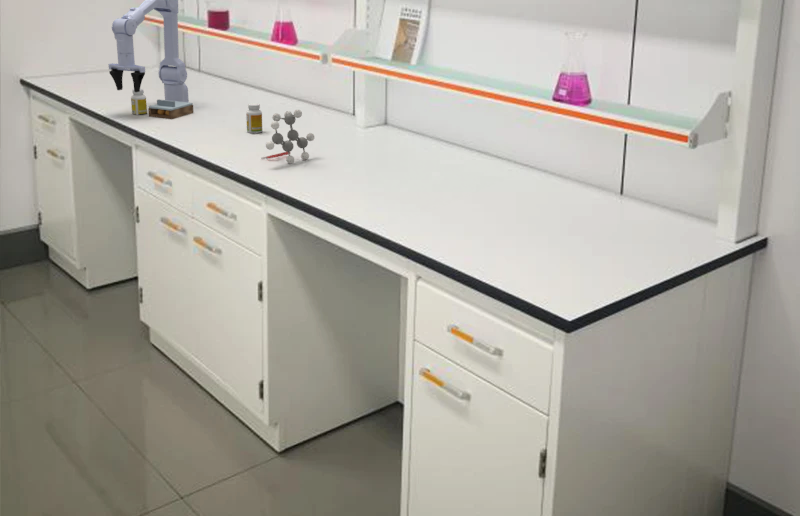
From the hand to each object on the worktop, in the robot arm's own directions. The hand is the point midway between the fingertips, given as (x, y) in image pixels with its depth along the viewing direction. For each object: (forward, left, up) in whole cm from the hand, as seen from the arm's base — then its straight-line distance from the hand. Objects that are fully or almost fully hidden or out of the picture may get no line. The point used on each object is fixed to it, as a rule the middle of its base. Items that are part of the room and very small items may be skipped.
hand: (128, 90), depth 327 cm
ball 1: (-6, +9, -9) cm, 14 cm away
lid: (-10, +11, -6) cm, 16 cm away
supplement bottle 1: (-6, 0, -10) cm, 12 cm away
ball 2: (-6, +13, -9) cm, 17 cm away
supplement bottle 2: (-2, +51, -10) cm, 52 cm away
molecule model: (+29, +79, -10) cm, 85 cm away
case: (-10, +11, -10) cm, 18 cm away
